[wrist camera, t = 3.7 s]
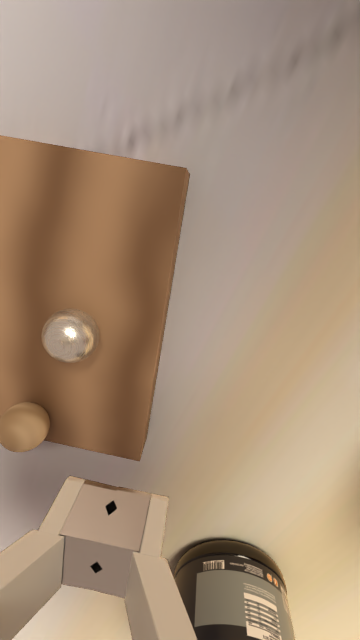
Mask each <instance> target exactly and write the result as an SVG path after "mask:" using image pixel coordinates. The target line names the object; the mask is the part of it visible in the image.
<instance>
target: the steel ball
mask: <svg viewBox="0 0 360 640" xmlns="http://www.w3.org/2000/svg"><path fill="white" fill-rule="evenodd" d="M98 342H99V329H98V326H97V324H96V322H95V320H94V319H93V318H92V317H91V316H90V315H89V314H87V313H86V312H84V311H81V310H78V309H64V310H60V311H58V312H56V313H54V314H53V315H52V316H50V317H49V319H48V320H47V321H46V323H45V324H44V327H43V329H42V343H43V346H44V348H45V350H46V351H47V353H48V354H49V355H50V356H51V357H53V358H54V359H56V360H58V361H61V362H65V363H75V362H79V361H82V360H84V359H86V358H87V357H89V356H90V355H91V354H92V353H93V352H94V350H95V349H96V347H97V345H98Z"/></svg>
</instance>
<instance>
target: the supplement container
mask: <svg viewBox="0 0 360 640" xmlns="http://www.w3.org/2000/svg"><path fill="white" fill-rule="evenodd" d="M173 578H174V580H175V583H176V585H177V588H178V591H179V593H180V596H181V598H182V601H183V604H184V606H185V609H186V611H187V614H188V617H189V619H190V622H191V624H192V627H193V630H194V632H195V635H196V637H197V640H295V636H294V631H293V626H292V621H291V616H290V610H289V605H288V600H287V590H286V585H285V581H284V578H283V575H282V573H281V571H280V569H279V568H278V566H277V565H276V563H275V562H274V561H273V560H272V559H271V558H270V557H269V556H268V555H266V554H265V553H264V552H262V551H260V550H259V549H257V548H255V547H253V546H250V545H248V544H245V543H242V542H237V541H231V540H215V541H209V542H205V543H202V544H199V545H197V546H195V547H193V548H191V549H190V550H188V551H187V552H186V553H185V554H184V555H183V556H182V557H181V558H180V560H179V562H178V564H177V566H176V568H175V572H174V577H173Z"/></svg>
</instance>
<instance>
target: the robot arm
mask: <svg viewBox="0 0 360 640" xmlns="http://www.w3.org/2000/svg"><path fill="white" fill-rule="evenodd" d="M150 498H151V499H150ZM168 502H169V499H168V497H166V496H161V495H156V494H152V495H151V493H148V492H143V491H138V490H133V489H128V488H123V487H115V486H111V485H107V484H103V483H99V482H95V481H91V480H86V479H82V478H77V477H73V476H69V477H68V478H67V479H66V480H65V482H64V484H63V486H62V487H61V489H60V491H59V493H58V495H57V496H56V498H55V500H54V502H53V504H52V506H51V507H50V509H49V511H48V513H47V515H46V517H45V518H44V520H43V522H42V524H41V526H40V528H39V529H38V530H33V529H32V530H31V531H30V532H28V533H27V534H25V535H24V536H23V537H21V538H20V539H19V540H17V541H16V542H14V543H13V544H12V545H10V546H9V547H7V548H6V549H5V550H3V551H2V552H1V553H0V640H12V639H13V638H14V636H15V635H16V634H17V633H18V632H19V631H20V630H21V629H22V628H23V627H24V626H25V625H26V624H27V623H28V622H29V620H30V619H31V618H32V617H33V616H34V615H35V614H36V613H37V612H38V611H39V610H40V609H41V608H42V607H43V606H44V605H45V603H46V602H47V601H48V600H49V599H50V598H51V597H52V596H53V595H54V594H55V593H56V592H57V591H58V590H59V589H60V588H61V584H63V585H68V586H74V587H79V588H84V589H90V590H95V591H98V592H102V593H106V594H110V595H114V596H118V597H122V598H125V600H124V601H125V605H126V610H127V615H128V620H129V625H130V630H131V635H132V640H197V637H196V635H195V632H194V630H193V627H192V624H191V622H190V619H189V617H188V614H187V611H186V609H185V606H184V604H183V601H182V598H181V596H180V593H179V591H178V588H177V585H176V583H175V580H174V578H173V575H172V572H171V570H170V567H169V565H168V562H167V559H165V558H162V557H161V553H162V545H163V538H164V531H165V524H166V516H167V509H168Z"/></svg>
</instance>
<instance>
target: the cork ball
mask: <svg viewBox="0 0 360 640" xmlns="http://www.w3.org/2000/svg"><path fill="white" fill-rule="evenodd" d="M49 428H50V419H49V416H48V413H47V412H46V410H45V409H44V408H43V407H42V406H40V405H38V404H36V403H31V402H24V403H19V404H16V405H14V406H12V407H11V408H9V409H8V410H7V411H6V412H5V413H4V414H3V415H2V417H1V418H0V443H1V444H2V446H3V447H5V448H6V449H8V450H10V451H13V452H25V451H29V450H31V449H33V448H35V447H37V446H38V445H39V444H40V443H42V441H43V440H44V439H45V437H46V436H47V434H48V431H49Z"/></svg>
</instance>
